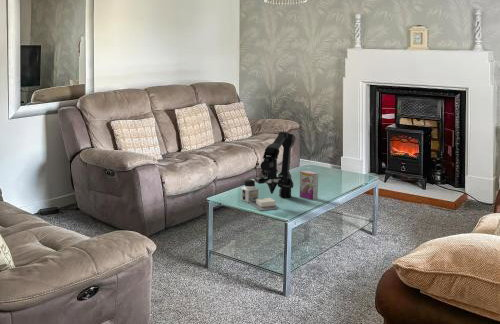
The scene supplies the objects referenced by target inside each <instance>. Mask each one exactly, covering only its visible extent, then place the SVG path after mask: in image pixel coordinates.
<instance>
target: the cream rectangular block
mask: <svg viewBox="0 0 500 324" xmlns="http://www.w3.org/2000/svg"><path fill="white" fill-rule="evenodd" d="M255 202H256V204H257V205H258V206H260V207H270V206H274V207H276V200H274V199H273V198H271V197H265V198H262V197H261V198H258V199H256V201H255Z"/></svg>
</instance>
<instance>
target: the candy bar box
mask: <svg viewBox="0 0 500 324" xmlns="http://www.w3.org/2000/svg"><path fill="white" fill-rule="evenodd" d="M299 172H300V173H299V197H300V198H304V199H307V200H311V201H314V200H318V197H319V196H318V195H319V194H318V191H319V190H318V189H319V173H318V172H313V171H309V170H301V171H299Z"/></svg>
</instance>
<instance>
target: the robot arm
mask: <svg viewBox="0 0 500 324" xmlns="http://www.w3.org/2000/svg"><path fill="white" fill-rule="evenodd" d="M295 141H296V136H295V135H294V133H289V132H287V131H279V132H278V135H277V136H276V138H275V139H274V141H273V142H272V143H270V144H268V145H267V146H266V148H265V149H264V153H263V156H262V159H263V161H261V163H260V172H259V174H260V176H256V178H255V183H257V184H258V185H262V184H263V185H264V184H266V185H267V186H268V189H269V192H270V194H272V195H273V194H274V192H275V190H276V189H277V187H278V188H279V190H278V191H279V195H278V196H279V197H280V198H282V199H284V198H285V199H286V198H293V195H292V189H293V188H294V181H293V180H292V174H291V172H290V167H291V166H290V165H291V155H292V154H291V153H292V148H293V147H294V145H295ZM281 147H282V148H283V149H282V158H281V159H282V162H281V171H280V172H279V173H278V159H279V158H278V157H279V154H280V148H281Z"/></svg>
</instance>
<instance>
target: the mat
mask: <svg viewBox="0 0 500 324" xmlns="http://www.w3.org/2000/svg"><path fill="white" fill-rule="evenodd" d="M248 204H249V205H250V206H253V207H254V208H255V209H257V210H258V211H260V212H263V211H270V210H272V211H274V210H277V209H278V208H277V207H276V206H270V207H260V206H258V205H257V204H256V201H253V202H248Z"/></svg>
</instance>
